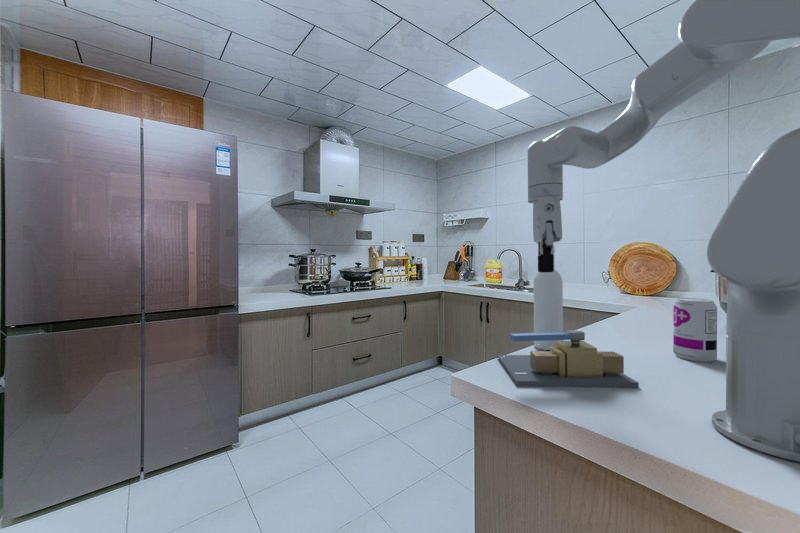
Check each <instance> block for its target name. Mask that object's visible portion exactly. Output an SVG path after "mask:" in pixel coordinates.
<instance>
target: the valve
mask: <svg viewBox="0 0 800 533" xmlns="http://www.w3.org/2000/svg"><path fill="white" fill-rule="evenodd" d="M529 355H530V356H531V368H532V369H533V370H534V371H535V372H537V373H541V374H542V375H552V373H555V374H556V375H558V376H559V377H566V378H603V375H605V376H615V373H623V374H625V373H624V371H625V370H624V369H625V368H624V366H625V365H624V363H625V362H624V360H625V359H624V355H622V354H620V353H617V352H615V351H598V348H597V347H595V346H593V345H592V344H589V343H588V342H586V341H585V340H580V341H578V340H563V341H556V347H550V351H546V350H530V354H529Z"/></svg>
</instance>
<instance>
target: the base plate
mask: <svg viewBox="0 0 800 533" xmlns="http://www.w3.org/2000/svg"><path fill="white" fill-rule="evenodd" d="M507 355H508V356H507ZM503 356H505V357H503ZM501 357H502V358H501ZM497 358H499V359H497ZM497 358H496V359H497V360H498V362H499V363H500V364H501V366H502V367H503V369H504V370H505V372H506V373H507V374H508V376H509V377H510V378H511V380H512V382H513V383H514V384H515V386H517V387H576V388H578V387H581V388H582V387H583V388H589V387H590V388H636V389H637V388H640V387H639V386H640V385H639V382H638V381H637V380H635V379H633V378H632V377H630V376H628V375H627V374H625V373H615V376H605V375H603V378H566V377H559V376H558V375H556V374H555V373H552V375H542V374H541V373H537V372H535V371H534V370H533V369H532V368H531V356H530V354H497Z"/></svg>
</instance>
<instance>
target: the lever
mask: <svg viewBox="0 0 800 533" xmlns="http://www.w3.org/2000/svg"><path fill="white" fill-rule="evenodd" d="M585 333H586V332H585V331H582V330H576V329H570V330H565V331H563V332H552V333H534V332H522V333H520V332H519V333H510V340H511V341H512V342H534V341H545V340H563V341H571V340H578V341H585V336H586V334H585Z"/></svg>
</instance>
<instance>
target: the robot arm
mask: <svg viewBox="0 0 800 533" xmlns="http://www.w3.org/2000/svg"><path fill="white" fill-rule="evenodd" d="M677 33H678V40H679V41H680V42H679V43H678V44H676V46H674V47H673V48H672V49H671V50H669V51H668V52H666V53H665V54H664V55H663V56H661V57H659V59H657V60H656V61H654V62H653V63H652V64H650V65H649V66H648V67H647V68H645V69H644V70H643V71H642V72H640V73H639V74H638V75H636V76H635V78H634V79H633V80H632V84H631V95H630V100H629V103H628V105H627V107H626V108H625V110H624V111H623V112H621V114H620V115H619V116H618V117H617V118H615V120H613V121H612V122H611V123H609V124H608V125H607V126H605V127H604V128H602V129H601V130H599V131H598V132H596V131H592V130H590V129H587V128H584V127H581V126H577V125H571V126H570V125H569V126H566V127H564V128H562V129H560V130H558V131H557V132H555V133H554V134H552V135H550V136H548V137H547V138H544V139H540V140H537V141H533V142H532V143H531V144H530V145H529V146H528V148H527V203H529V204H532V233H533V234H532V236H533V242H534V243H536V244H537V273H538V272H553V271H554V261H555V254H554V255H553V245H554V243H558V242H561V241H562V240H563V227H562V225H563V223H562V209H561V201H563V200H564V198H563V197H564V185H563V184H564V181H563V180H564V179H563V178H564V177H563V176H564V175H563V172H564V170H563V169H564V168H563V167H564V166H573V167H577V168H582V169H585V170H586V169H587V170H589V169H595V168H599V167H601V166H603V165H605V164H607V163H610V162H611V161H612V160H614V159H616V158H617V157H619V156H620V155H623V154H624V153H626V152H627V151H629V150H630V149H632V148H633V147H634V146H635V145H637V144H638V143H639V142H641V140H643V139H644V138H645V136H646V135H647V134H648V133H649V132H651V130H652V129H653V128H654V127H655V126H656V124H658V122H659V121H660V119H662V118H663V117H664V116H665V115H666V114H669V112H671V111H672V110H675V108H676V107H677V108H678V106H680V105H682V104H684V103H685V102H686V101H688V100H689V99H691V98H693V97H694V96H696V95H697V94H698V93H701V92H702V91H703V90H705V89H707V88H708V87H710V86H712V85H713V84H714V83H716V82H718V81H719V80H721V79H722V78H724V77H726V76H727V75H729V74H730V73H732V72H733V71H735V70H736V69H739V68H740V67H741V66H744V64H746V63H748V62H749V61H750V60H752V59H754V58H755V57H757V56H758V55H759V54H760V53H761V52H763V51H764V50H765V49H766V48H767V47H768V46H769V45H770V44H771V42H772V41H781V40H786V39H787V40H788V39H797V38H799V39H800V0H695V1H693V3H691V4H690V6H689V7H688V8H687V9H686V11H685V13H684V14H683V16H682V18H681V20H680V22H679V25H678V30H677ZM706 258H707V262H708V265H710V267H711V269H712V270H713V272H714V273H715V274H716V275H717V276H719V278H721V279H722V280H723V281H726V282H728V283H729V285H728V293H727V301H726V326H725V329H726V330H725V331H726V333H725V334H726V336H725V337H726V339H725V340H726V343H725V351H726V353H725V410H719V411H716V412H713V413H712V415H711V424H712V426H713V427H714V428H715V429H716V430H717V431H718V432H719V433H721V434H722V435H724V436H725V437H727V438H729V439H730V440H732V441H734V442H737V443H738V444H741V445H743V446H745V447H748V448H750V449H753V450H756V451H758V452H761V453H763V454H767V455H769V456H774V457H777V458H781V459H784V460H789V461H794V462H798V463H800V127H797V128H796V129H793V130H791V131H789V132H787V133H785V134H783V135H781V136H780V137H779V138H777V139H775V140H774V141H773V142H772V143H770V144H769V145H768V146H767V147H766V148H764V149H763V151H762V152H761V153H760V154H759V155H758V157H757V158H756V159H755V160H754V162H753V163H752V164H751V166H750V168H749V170H748V171H747V173H746V174H745V176H744V178H743V180H742V181H741V183H740V185H739V187H738V189H737V190H736V191H735V193H734V196H733V197H732V199H731V201H730V202H729V204H728V205H727V207H726V209H725V211H724V212H723V215H722V216H721V218H720V219H719V221H718V223H717V224H716V226H715V229H714V230H713V232H712V234H711V236H710V239H709V241H708V244H707V249H706Z"/></svg>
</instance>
